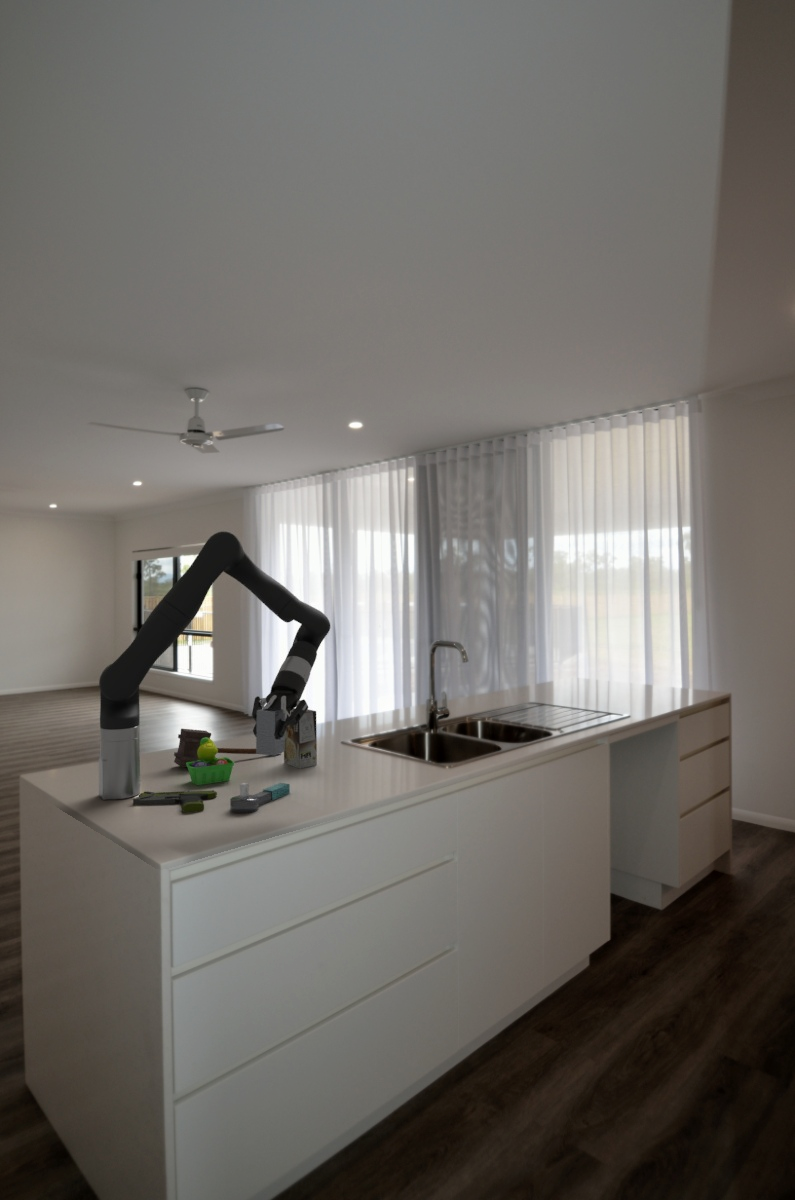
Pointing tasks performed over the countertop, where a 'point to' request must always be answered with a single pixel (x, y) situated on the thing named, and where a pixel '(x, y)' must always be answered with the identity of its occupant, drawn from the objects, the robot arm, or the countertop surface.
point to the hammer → (192, 742)
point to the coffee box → (301, 741)
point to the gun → (176, 799)
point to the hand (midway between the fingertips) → (266, 736)
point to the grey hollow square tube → (269, 732)
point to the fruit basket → (209, 765)
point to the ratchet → (256, 797)
